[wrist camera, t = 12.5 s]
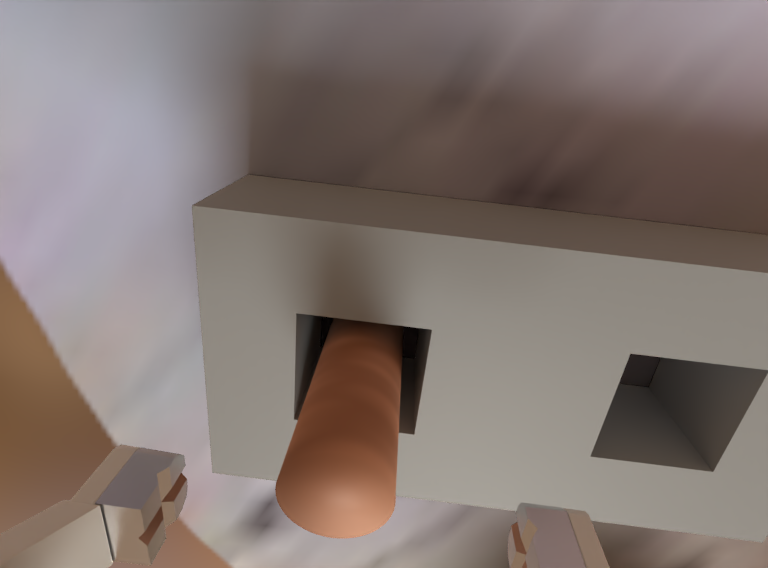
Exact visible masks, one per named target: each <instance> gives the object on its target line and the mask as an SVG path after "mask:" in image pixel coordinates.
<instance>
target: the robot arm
mask: <svg viewBox="0 0 768 568" xmlns="http://www.w3.org/2000/svg"><path fill="white" fill-rule="evenodd" d="M184 467H185V459H184V455H181V454H176V453H170V452H164V451H158V450H152V449H146V448H139V447H133V446H127V445H119V446H118V447H116V448H115V449H114V450H112V452H111V453H110V454H109V455H108V457H107V458H106V459H105V460H104V461H103V462H102V464H101V465H100V466H99V467H98V468H97V469H96V471H95V472H94V473H93V474H92V475H91V476H90V478H89V479H88V480H87V482H85V484H84V485H83V486H82V487H81V488H80V489H79V491H78V492H77V493H76V494H75V496H74V497H73V498H72V499H71V500H70V501H68V500H63V501H61V502H59V503H57V504H55V505H53V506H52V507H50V508H48V509H46V510H44V511H42V512H41V513H39V514H37V515H35V516H33V517H31V518H30V519H28V520H26V521H24V522H22V523H20V524H18V525H16V526H15V527H13V528H11V529H9V530H7V531H5V532H3V533H1V534H0V568H108V567H109V566H111V565H112V564H113V561H115V562H124V563H132V564H141V565H149V566H151V564H152V562H153V560H154V559H155V557H156V555H157V553H158V551H159V550H160V548H161V546H162V545H163V543H164V541H165V539H166V534H165V528H166V527H167V526H169V525H170V524H172V523H173V522H174V521H176V520H177V518H178V516H179V514H180V512H181V510H182V508H183V505H184V502H185V499H186V496H187V487H188V486H187V479H186V477H185V476H184V475H183V474H182V473H181V472H182V470H183V469H184ZM516 517H517V522H516V523H515V524H513V525H512V526H511V529H510V532H509V536H508V547H507V549H508V560H509V566H510V568H610V567H609V565H608V562H607V560H606V557H605V555H604V552H603V549H602V547H601V544H600V542H599V539H598V537H597V534H596V532H595V529H594V526H593V524H592V521H591V519H590V516H589V515H588V514H587V512H586V511H581V510H573V509H566V508H561V507H554V506H546V505H538V504H530V503H523V502H521V503H520V504H519V505H518V508H517V510H516Z"/></svg>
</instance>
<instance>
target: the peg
mask: <svg viewBox="0 0 768 568" xmlns="http://www.w3.org/2000/svg"><path fill="white" fill-rule="evenodd" d="M403 330H404V326H398V325H389V324H381V323H373V322H365V321H356V320H348V319H340V318H333V320H332V323H331V326H330V329H329V332H328V335H327V338H326V341H325V343H324V346H323V349H322V352H321V355H320V358H319V361H318V364H317V366H316V369H315V372H314V375H313V378H312V381H311V384H310V387H309V389H308V392H307V395H306V398H305V401H304V404H303V407H302V410H301V413H300V415H299V418H298V421H297V424H296V427H295V430H294V433H293V436H292V438H291V441H290V444H289V447H288V450H287V453H286V456H285V459H284V461H283V464H282V467H281V470H280V473H279V476H278V479H277V482H276V489H275V490H276V497H277V501H278V503H279V505H280V507H281V509H282V510H283V512H284V513H285V514H286V515H287V517H288V518H290V519H291V520H292V521H293V522H294V523H296V524H297V525H298V526H300V527H302V528H303V529H305V530H307V531H310V532H312V533H315V534H317V535H321V536H325V537H331V538H354V537H359V536H363V535H366V534H369V533H371V532H374V531H375V530H377V529H379V528H380V527H381V526H383V525H384V524H385V523H386V522H387V521H388V520H389V518H390V517H391V515H392V513H393V511H394V507H395V499H396V478H397V457H398V436H399V415H400V393H401V372H402V351H403Z"/></svg>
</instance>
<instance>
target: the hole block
mask: <svg viewBox="0 0 768 568" xmlns="http://www.w3.org/2000/svg"><path fill="white" fill-rule="evenodd" d="M192 215H193V228H194V241H195V254H196V266H197V279H198V292H199V305H200V318H201V331H202V344H203V357H204V370H205V383H206V396H207V409H208V422H209V435H210V448H211V461H212V473H218V474H226V475H234V476H242V477H250V478H258V479H266V480H273V481H277V479H278V476H279V473H280V470H281V467H282V464H283V461H284V459H285V456H286V453H287V450H288V447H289V444H290V441H291V438H292V436H293V433H294V430H295V427H296V424H297V421H298V418H299V415H300V413H301V410H302V407H303V404H304V401H305V398H306V395H307V392H308V389H309V387H310V384H311V381H312V378H313V375H314V372H315V369H316V366H317V364H318V361H319V358H320V355H321V352H322V349H323V348H321V347H320V336H321V316H323V317H332V318H340V319H348V320H356V321H365V322H373V323H381V324H389V325H398V326H406V327H414V328H419V333H418V340H417V346H416V353H415V359H411V358H403V357H402V372H401V393H400V415H399V436H398V457H397V478H396V496H400V497H407V498H415V499H423V500H431V501H439V502H447V503H455V504H463V505H471V506H478V507H486V508H494V509H502V510H510V511H516V510H517V508H518V505H519V504H520V503H521V502H523V503H530V504H538V505H546V506H554V507H561V508H566V509H573V510H581V511H586V512H587V514H588V515H589V516H590V519H591V521H597V522H605V523H613V524H620V525H628V526H636V527H644V528H652V529H660V530H668V531H676V532H684V533H691V534H699V535H707V536H715V537H723V538H731V539H739V540H747V541H755V542H762V543H763V541H764V540H765V538H766V537H767V535H768V235H764V234H756V233H747V232H739V231H730V230H721V229H713V228H704V227H695V226H687V225H678V224H670V223H661V222H652V221H644V220H635V219H627V218H618V217H609V216H601V215H592V214H583V213H575V212H566V211H558V210H549V209H540V208H532V207H523V206H515V205H506V204H497V203H489V202H480V201H471V200H463V199H454V198H446V197H437V196H428V195H420V194H411V193H403V192H394V191H385V190H377V189H368V188H359V187H351V186H342V185H334V184H325V183H316V182H308V181H299V180H290V179H282V178H273V177H265V176H256V175H246V176H245V177H243V178H241V179H239V180H237V181H236V182H234V183H232V184H230V185H228V186H226V187H225V188H223V189H221V190H219V191H217V192H216V193H214V194H212V195H210V196H208V197H206V198H205V199H203V200H201V201H199V202H197V203H196V204H194V205H192ZM630 354H638V355H646V356H654V357H661V359H660V362H659V364H658V366H657V369H656V371H655V373H654V376H653V378H652V380H651V383H650V385H649V387H641V386H633V385H625V384H619V382H620V379H621V377H622V374H623V371H624V369H625V366H626V364H627V361H628V359H629V356H630Z"/></svg>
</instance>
